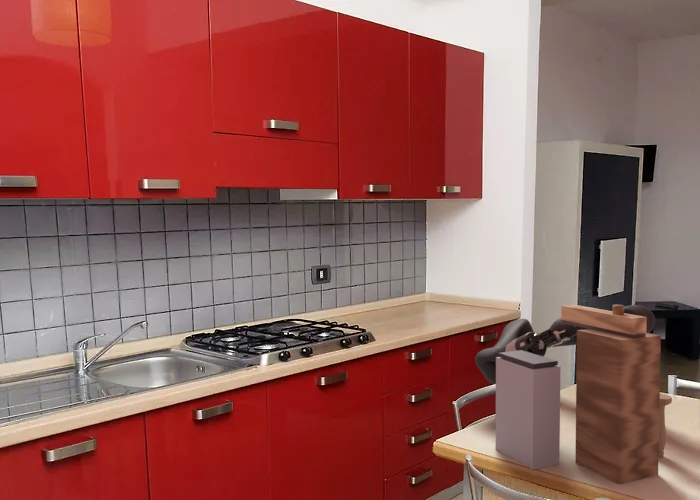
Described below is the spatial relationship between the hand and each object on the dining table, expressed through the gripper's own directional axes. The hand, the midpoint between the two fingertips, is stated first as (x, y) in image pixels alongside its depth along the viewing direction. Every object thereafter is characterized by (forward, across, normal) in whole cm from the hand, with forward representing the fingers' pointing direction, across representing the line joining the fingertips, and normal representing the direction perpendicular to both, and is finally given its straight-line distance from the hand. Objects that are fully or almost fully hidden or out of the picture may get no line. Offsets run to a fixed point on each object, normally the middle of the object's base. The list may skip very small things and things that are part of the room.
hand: (564, 330), depth 154 cm
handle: (0, -14, -34) cm, 37 cm away
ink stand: (-12, +14, -27) cm, 33 cm away
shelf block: (+1, +1, -34) cm, 34 cm away
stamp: (+12, +1, -4) cm, 12 cm away
